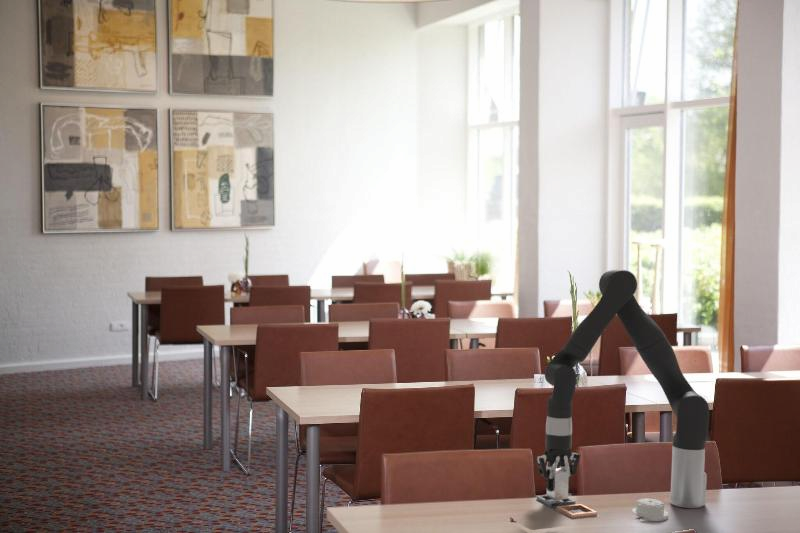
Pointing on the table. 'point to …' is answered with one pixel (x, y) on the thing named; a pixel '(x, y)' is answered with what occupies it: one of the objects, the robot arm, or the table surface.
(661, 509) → the mechanical component
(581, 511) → the double frame tray
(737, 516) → the table surface
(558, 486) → the block
